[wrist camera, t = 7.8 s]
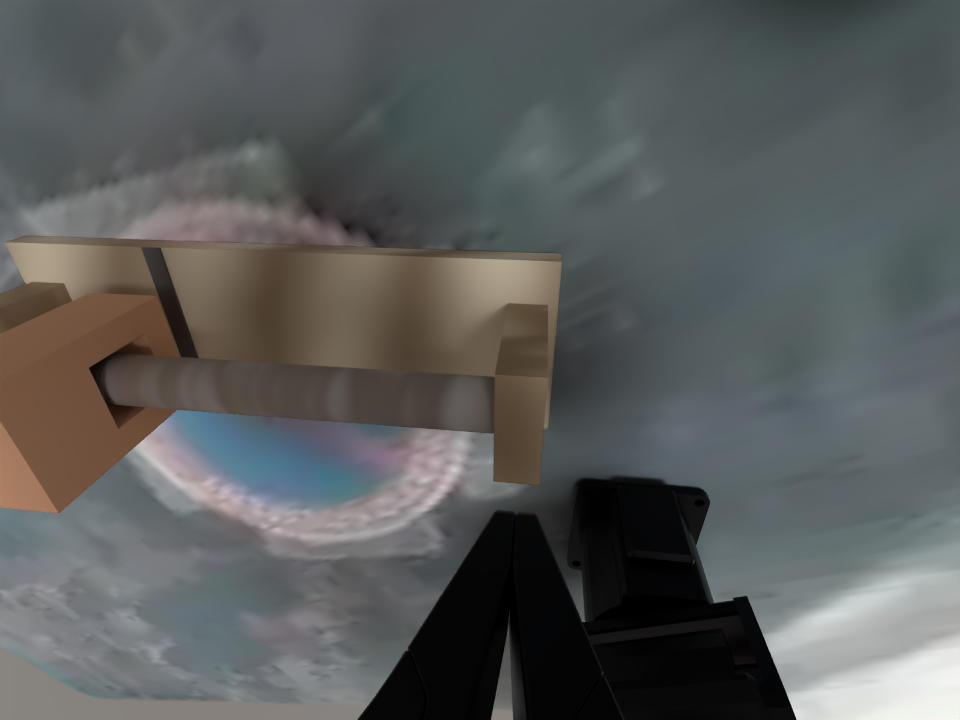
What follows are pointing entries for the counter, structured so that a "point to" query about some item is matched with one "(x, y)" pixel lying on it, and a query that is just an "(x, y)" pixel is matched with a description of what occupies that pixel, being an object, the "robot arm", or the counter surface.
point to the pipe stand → (323, 332)
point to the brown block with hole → (71, 397)
